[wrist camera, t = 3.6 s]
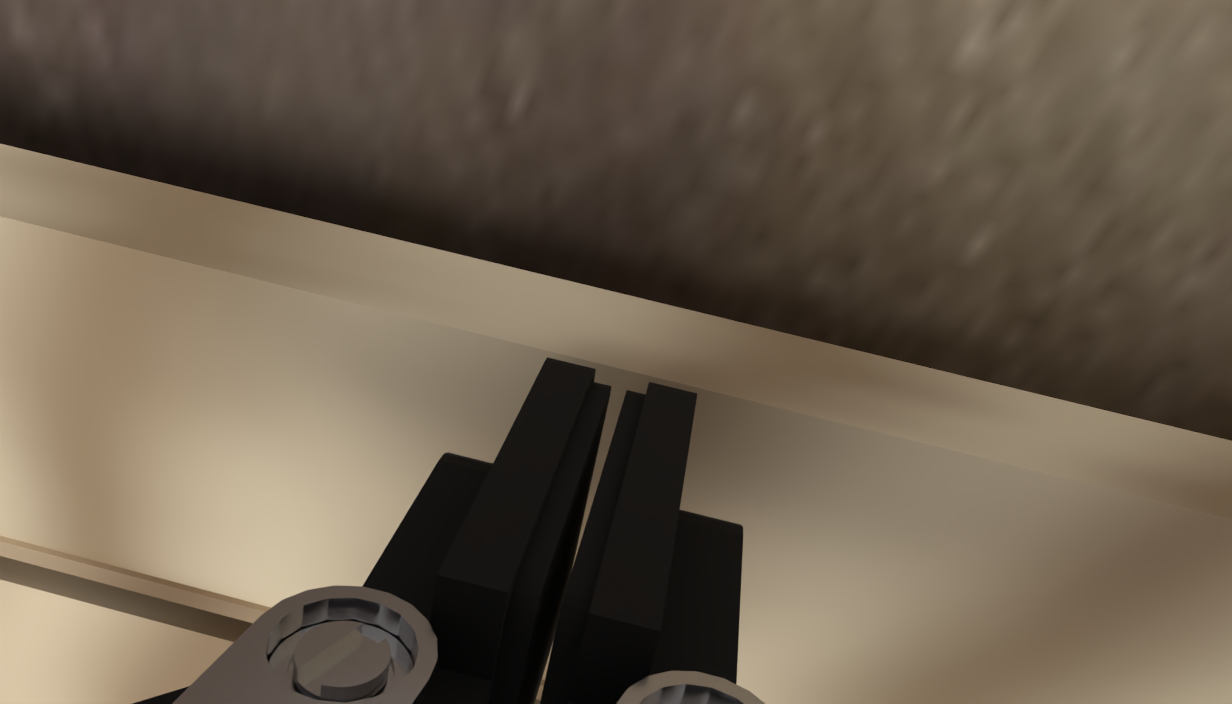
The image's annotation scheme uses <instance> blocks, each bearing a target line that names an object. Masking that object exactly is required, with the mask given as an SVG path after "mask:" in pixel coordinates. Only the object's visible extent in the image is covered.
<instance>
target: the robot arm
mask: <svg viewBox="0 0 1232 704" xmlns="http://www.w3.org/2000/svg"><path fill="white" fill-rule="evenodd" d="M595 373H596V369H594V368H590V367H586V366H582V365H577V364H573V363H569V362H565V361H561V360H557V359H552V358H548V357H547V358H546V360H545V362H544V364H543V366H542V368H541V370H540V372H539V374H538V376H537V378H536V380H535V382H534V384H533V385H532V387H531V389H530V391H529V393H528V395H527V397H526V399H525V401H524V403H523V405H522V407H521V409H520V411H519V413H518V415H517V417H516V419H515V421H514V423H513V425H512V427H511V429H510V431H509V433H508V435H507V437H506V439H505V441H504V443H503V445H502V447H501V449H500V451H499V453H498V455H497V457H496V459H495V461H494V463H489V462H485V461H481V460H477V459H473V458H469V457H465V456H461V455H457V454H453V453H449V452H447V453H444V454H443V455H442V457H441V458H440V459H439V461H438V462H437V464H436V466H435V467H434V469H433V470H432V472H431V474H430V475H429V477H428V479H427V480H426V482H425V484H424V485H423V487H422V489H421V490H420V492H419V494H418V495H417V497H416V499H415V500H414V502H413V503H412V505H411V507H410V508H409V510H408V512H407V513H406V515H405V517H404V518H403V520H402V522H401V523H400V525H399V527H398V528H397V530H396V531H395V533H394V535H393V536H392V538H391V540H390V541H389V543H388V545H387V546H386V548H385V550H384V551H383V553H382V555H381V556H380V558H379V560H378V561H377V563H376V564H375V566H374V568H373V569H372V571H371V573H370V574H369V576H368V578H367V579H366V581H365V583H364V584H363V586H338V585H335V586H328V587H322V588H316V589H310V590H306V591H303V592H301V593H298V594H296V595H293V596H291V597H288V598H286V599H283V600H281V601H280V602H279V603H277V604H276V605H275V606H273V607H272V608H270V609H269V610H268V611H266V612H265V613H264V614H262V615H261V616H260V617H259V618H258V619H257V620H256V621H255V622H254V623H253V624H252V625H251V626H250V627H249V628H248V629H247V630H246V631H245V632H244V633H243V634H242V635H241V636H240V637H239V638H238V639H237V640H236V641H235V642H234V643H233V644H232V645H231V646H230V647H229V648H228V649H227V650H226V651H225V652H224V653H223V654H222V655H221V656H220V657H219V658H218V659H217V660H216V661H215V662H214V663H213V664H212V665H211V666H210V667H209V668H207V669H206V670H205V671H204V672H203V673H202V674H201V675H200V676H199V677H198V678H197V679H196V680H195V681H194V682H193V683H192V684H191V685H190V686H188V687H185V688H182V689H178V690H175V691H172V692H169V693H165V694H162V695H159V696H155V697H152V698H149V699H146V700H142V701H139V702H136V703H132V704H535V700H536V697H537V694H538V690H539V687H540V684H541V680H542V677H543V674H544V670H545V667H546V664H547V660H548V657H549V654H550V650H551V647H552V650H551V654H550V659H549V664H548V668H547V673H546V678H545V682H544V687H543V691H542V696H541V701H540V704H765V703H764V702H763V701H761V700H760V699H759V698H758V697H756V696H755V695H754V694H753V693H751V692H750V691H748V690H746V689H744V688H742V687H740V686H738V685H736V683H737V662H738V640H739V618H740V597H741V575H742V553H743V526H742V525H740V524H736V523H732V522H728V521H724V520H720V519H716V518H712V517H708V516H704V515H700V514H696V513H692V512H688V511H684V510H680V504H681V497H682V491H683V484H684V478H685V471H686V465H687V458H688V452H689V445H690V439H691V432H692V426H693V419H694V413H695V406H696V400H697V393H694V392H689V391H685V390H681V389H677V388H673V387H669V386H665V385H660V384H656V383H652V382H649V384H648V388H647V392H646V394H642V393H638V392H634V391H629V390H627V391H626V394H625V397H624V401H623V404H622V407H621V411H620V414H619V417H618V420H617V424H616V427H615V430H614V434H613V437H612V440H611V443H610V447H609V450H608V453H607V457H606V460H605V463H604V467H603V470H602V473H601V476H600V480H599V483H598V486H597V490H596V493H595V496H594V500H593V503H592V506H591V509H590V513H589V516H588V519H587V523H586V526H585V529H584V532H583V536H582V539H581V542H580V546H579V549H578V552H577V556H576V559H575V554H576V550H577V545H578V540H579V536H580V531H581V527H582V522H583V518H584V513H585V508H586V504H587V499H588V495H589V490H590V485H591V481H592V476H593V472H594V467H595V462H596V458H597V453H598V449H599V444H600V440H601V435H602V430H603V426H604V421H605V417H606V412H607V407H608V403H609V398H610V393H611V386H609V385H605V384H600V383H596V382H594V380H595ZM574 559H575V562H574ZM573 563H574V565H573ZM572 568H573V569H572ZM553 640H554V641H553ZM552 644H553V645H552Z"/></svg>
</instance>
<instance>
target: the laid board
mask: <svg viewBox="0 0 1232 704" xmlns="http://www.w3.org/2000/svg"><path fill="white" fill-rule="evenodd" d="M252 624H253V623H250V622H246V621H242V620H239V619H235V618H231V617H227V616H224V615H220V614H216V613H212V612H209V611H205V610H201V609H197V608H194V607H190V606H186V605H182V604H179V603H175V602H171V601H167V600H164V599H160V598H156V597H152V596H149V595H145V594H141V593H137V592H134V591H130V590H126V589H122V588H119V587H115V586H111V585H108V584H104V583H100V582H96V581H93V580H89V579H85V578H81V577H78V576H74V575H70V574H66V573H63V572H59V571H55V570H51V569H48V568H44V567H40V566H36V565H33V564H29V563H25V562H21V561H18V560H14V559H10V558H6V557H3V556H0V704H132V703H136V702H139V701H142V700H146V699H149V698H152V697H155V696H159V695H162V694H165V693H169V692H172V691H175V690H178V689H182V688H185V687H188V686H190V685H191V684H192V683H193V682H194V681H195V680H196V679H197V678H198V677H199V676H200V675H201V674H202V673H203V672H204V671H205V670H206V669H207V668H209V667H210V666H211V665H212V664H213V663H214V662H215V661H216V660H217V659H218V658H219V657H220V656H221V655H222V654H223V653H224V652H225V651H226V650H227V649H228V648H229V647H230V646H231V645H232V644H233V643H234V642H235V641H236V640H237V639H238V638H239V637H240V636H241V635H242V634H243V633H244V632H245V631H246V630H247V629H248V628H249V627H250V626H251V625H252ZM540 701H541V700H538V699H536V700H535V704H540Z"/></svg>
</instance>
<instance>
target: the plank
mask: <svg viewBox="0 0 1232 704" xmlns="http://www.w3.org/2000/svg"><path fill="white" fill-rule="evenodd" d="M547 357H548V358H552V359H557V360H561V361H565V362H569V363H573V364H577V365H582V366H586V367H590V368H594V369H596V373H595V380H594V382H596V383H600V384H605V385H609V386H611V393H610V398H609V403H608V407H607V412H606V417H605V421H604V426H603V430H602V435H601V440H600V444H599V449H598V453H597V458H596V462H595V467H594V472H593V476H592V481H591V485H590V490H589V495H588V499H587V504H586V508H585V513H584V518H583V522H582V527H581V531H580V536H579V540H578V545H577V550H576V554H575V559H576V556H577V552H578V549H579V546H580V542H581V539H582V536H583V532H584V529H585V526H586V523H587V519H588V516H589V513H590V509H591V506H592V503H593V500H594V496H595V493H596V490H597V486H598V483H599V480H600V476H601V473H602V470H603V467H604V463H605V460H606V457H607V453H608V450H609V447H610V443H611V440H612V437H613V434H614V430H615V427H616V424H617V420H618V417H619V414H620V411H621V407H622V404H623V401H624V397H625V394H626V391H627V390H629V391H634V392H638V393H642V394H646V392H647V388H648V384H649V382H652V383H656V384H660V385H665V386H669V387H673V388H677V389H681V390H685V391H689V392H694V393H697V400H696V406H695V413H694V419H693V426H692V432H691V439H690V445H689V452H688V458H687V465H686V471H685V478H684V484H683V491H682V497H681V504H680V510H684V511H688V512H692V513H696V514H700V515H704V516H708V517H712V518H716V519H720V520H724V521H728V522H732V523H736V524H740V525H742V526H743V553H742V575H741V597H740V618H739V640H738V662H737V683H736V685H738V686H740V687H742V688H744V689H746V690H748V691H750V692H751V693H753V694H754V695H755V696H756V697H758V698H759V699H760V700H761V701H763V702H764V703H765V704H1232V441H1231V440H1226V439H1222V438H1218V437H1214V436H1210V435H1206V434H1202V433H1197V432H1193V431H1189V430H1185V429H1181V428H1177V427H1173V426H1168V425H1164V424H1160V423H1156V422H1152V421H1148V420H1144V419H1139V418H1135V417H1131V416H1127V415H1123V414H1119V413H1115V412H1110V411H1106V410H1102V409H1098V408H1094V407H1090V406H1086V405H1081V404H1077V403H1073V402H1069V401H1065V400H1061V399H1057V398H1052V397H1048V396H1044V395H1040V394H1036V393H1032V392H1028V391H1023V390H1019V389H1015V388H1011V387H1007V386H1003V385H998V384H994V383H990V382H986V381H982V380H978V379H974V378H969V377H965V376H961V375H957V374H953V373H949V372H945V371H940V370H936V369H932V368H928V367H924V366H920V365H916V364H911V363H907V362H903V361H899V360H895V359H891V358H887V357H882V356H878V355H874V354H870V353H866V352H862V351H858V350H853V349H849V348H845V347H841V346H837V345H833V344H829V343H824V342H820V341H816V340H812V339H808V338H804V337H800V336H795V335H791V334H787V333H783V332H779V331H775V330H771V329H766V328H762V327H758V326H754V325H750V324H746V323H742V322H737V321H733V320H729V319H725V318H721V317H717V316H713V315H708V314H704V313H700V312H696V311H692V310H688V309H684V308H679V307H675V306H671V305H667V304H663V303H659V302H655V301H650V300H646V299H642V298H638V297H634V296H630V295H626V294H621V293H617V292H613V291H609V290H605V289H601V288H597V287H592V286H588V285H584V284H580V283H576V282H572V281H568V280H563V279H559V278H555V277H551V276H547V275H543V274H539V273H534V272H530V271H526V270H522V269H518V268H514V267H510V266H505V265H501V264H497V263H493V262H489V261H485V260H481V259H476V258H472V257H468V256H464V255H460V254H456V253H452V252H447V251H443V250H439V249H435V248H431V247H427V246H423V245H418V244H414V243H410V242H406V241H402V240H398V239H393V238H389V237H385V236H381V235H377V234H373V233H369V232H364V231H360V230H356V229H352V228H348V227H344V226H340V225H335V224H331V223H327V222H323V221H319V220H315V219H311V218H306V217H302V216H298V215H294V214H290V213H286V212H282V211H277V210H273V209H269V208H265V207H261V206H257V205H253V204H248V203H244V202H240V201H236V200H232V199H228V198H224V197H219V196H215V195H211V194H207V193H203V192H199V191H195V190H190V189H186V188H182V187H178V186H174V185H170V184H166V183H161V182H157V181H153V180H149V179H145V178H141V177H137V176H132V175H128V174H124V173H120V172H116V171H112V170H108V169H103V168H99V167H95V166H91V165H87V164H83V163H79V162H74V161H70V160H66V159H62V158H58V157H54V156H50V155H45V154H41V153H37V152H33V151H29V150H25V149H21V148H16V147H12V146H8V145H4V144H0V556H3V557H6V558H10V559H14V560H18V561H21V562H25V563H29V564H33V565H36V566H40V567H44V568H48V569H51V570H55V571H59V572H63V573H66V574H70V575H74V576H78V577H81V578H85V579H89V580H93V581H96V582H100V583H104V584H108V585H111V586H115V587H119V588H122V589H126V590H130V591H134V592H137V593H141V594H145V595H149V596H152V597H156V598H160V599H164V600H167V601H171V602H175V603H179V604H182V605H186V606H190V607H194V608H197V609H201V610H205V611H209V612H212V613H216V614H220V615H224V616H227V617H231V618H235V619H239V620H242V621H246V622H250V623H254V622H255V621H256V620H257V619H258V618H259V617H260V616H261V615H262V614H264V613H265V612H266V611H268V610H269V609H270V608H272V607H273V606H275V605H276V604H277V603H279V602H280V601H281V600H283V599H286V598H288V597H291V596H293V595H296V594H298V593H301V592H303V591H306V590H310V589H316V588H322V587H328V586H335V585H338V586H363V584H364V583H365V581H366V579H367V578H368V576H369V574H370V573H371V571H372V569H373V568H374V566H375V564H376V563H377V561H378V560H379V558H380V556H381V555H382V553H383V551H384V550H385V548H386V546H387V545H388V543H389V541H390V540H391V538H392V536H393V535H394V533H395V531H396V530H397V528H398V527H399V525H400V523H401V522H402V520H403V518H404V517H405V515H406V513H407V512H408V510H409V508H410V507H411V505H412V503H413V502H414V500H415V499H416V497H417V495H418V494H419V492H420V490H421V489H422V487H423V485H424V484H425V482H426V480H427V479H428V477H429V475H430V474H431V472H432V470H433V469H434V467H435V466H436V464H437V462H438V461H439V459H440V458H441V457H442V455H443V454H444V453H447V452H449V453H453V454H457V455H461V456H465V457H469V458H473V459H477V460H481V461H485V462H489V463H494V461H495V459H496V457H497V455H498V453H499V451H500V449H501V447H502V445H503V443H504V441H505V439H506V437H507V435H508V433H509V431H510V429H511V427H512V425H513V423H514V421H515V419H516V417H517V415H518V413H519V411H520V409H521V407H522V405H523V403H524V401H525V399H526V397H527V395H528V393H529V391H530V389H531V387H532V385H533V384H534V382H535V380H536V378H537V376H538V374H539V372H540V370H541V368H542V366H543V364H544V362H545V360H546V358H547ZM575 559H574V562H575ZM573 565H574V563H573ZM572 569H573V568H572ZM553 641H554V640H553ZM552 645H553V644H552ZM551 650H552V647H551ZM551 650H550V654H551ZM550 654H549V657H548V660H547V664H546V667H545V670H544V674H543V677H542V680H541V684H540V687H539V690H538V694H537V697H536V699H538V700H541V696H542V691H543V687H544V682H545V678H546V673H547V668H548V664H549V659H550Z"/></svg>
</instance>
